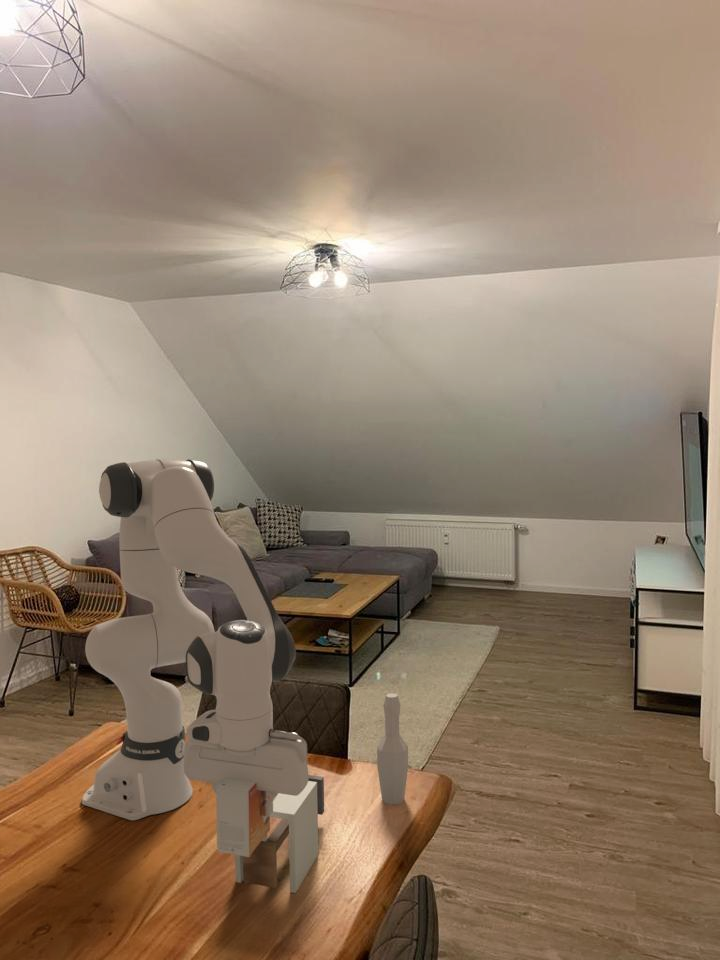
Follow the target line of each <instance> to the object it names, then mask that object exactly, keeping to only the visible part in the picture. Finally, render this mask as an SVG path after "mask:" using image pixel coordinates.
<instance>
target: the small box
mask: <svg viewBox="0 0 720 960" xmlns="http://www.w3.org/2000/svg"><path fill="white" fill-rule="evenodd" d="M215 795H216V796H215V800H216V802H215V803H216V810H215V811H216V849H217V852H218V853H222V854H223V853H225V854H230V855H234V856H235V855H240V856H245V857H250V855H251V854H252V852H253V851H254V850H255V848H256V847H257V846H258V845H259V843H260V842H261V841H262V839H263V838H264V837H265V836H266V834H267V835H268V834H269V833H270V830H271V818H270V817H267V816H262V815H260V812H261V811H260V805H261V804H262V803H263V801H264V800H268V799H269V798H270V797H267V796H266V791H262V790H257V785H256V783H255V782H251V781H245V780H237V779H224V780H223V781H222V782H221V783H220V784H218V785H217V786H216V793H215Z"/></svg>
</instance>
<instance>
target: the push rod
mask: <svg viewBox="0 0 720 960" xmlns="http://www.w3.org/2000/svg"><path fill="white" fill-rule="evenodd" d="M324 778H325V777H324V776H319V775H311V774H308V781H313V782H317V806H318V815H323V814H324V812H325V786H324V785H325V783H324V782H325V781H324V780H325V779H324ZM287 837H289V820H288V819H282V818H281V820H280V821H279V823H278V824H277V825H276V827H274V829H273V831H272V832H271V833H270V835H269V836H268V837H267V840H266V841H261V842H260V843H259V845H258V846H257V847H256V848H255V850H254V851H253V852H252V854H251V855H250V857H245V856H243V881H242V882H243V883H246V884H252V885H255V886H256V885H257V886H263V887H267V888H268V887H269V888H273V889H275V888H276V887H277V885H278V871H277V870H278V866H277V865H278V863H277V859H278V858H277V857H278V856H277V852H278V850H279V849H280V848H281V846H282V844H283V843H284V842H285V840H286V839H287Z"/></svg>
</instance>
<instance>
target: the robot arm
mask: <svg viewBox="0 0 720 960" xmlns="http://www.w3.org/2000/svg"><path fill="white" fill-rule="evenodd" d="M214 481H215V480H214V476H213V472H212V471H211V469H210V467H209V466H208V464H207V463H205V462H203V461H199V460H196V459H186V460H182V459H171V458H167V459H166V458H158V459H155V460H152V459H151V460H141V461H135V462H133V461H132V462H129V463H127V462H117V463H114V464H111V465H108V466H107V467H106V468H105V469H104V471H102V472H101V476H100V481H99V485H98V486H99V487H98V495H99V498H100V499H99V500H100V502H101V504H102V507H103V509H104V510H105V511H106V512H107V513H108V514H109V515H110V516H113V517H118V518H120V522H119V532H118V533H119V539H118V541H119V542H118V543H119V565H120V582H121V587H122V588H123V589H124V591H125V592H127V593H128V594H130V595H131V596H134V597H136V598H138V599H142V600H145V601H148V602H150V603H151V604H152V607H153V608H152V609H153V612H151V613H148V614H140V615H133V616H132V615H131V616H125V617H124V616H123V617H118V618H114V619H111V620H108V621H104V622H102V623H99V624H96V625H94V626H93V628H91V630H90V632H89V633H88V636H87V638H86V641H85V648H84V651H85V657H86V659H87V660H86V661H87V662H88V664H89V665H90V667H91V668H92V669H94V671H96V672H97V673H99V674H101V675H103V676H104V677H106V678H108V679H109V680H110V681H111V682H113V683H114V685H115V686H116V687H117V688H118V690H119V692H120V693H121V696H122V698H123V702H124V707H125V714H126V724H127V725H126V726H127V730H126V731H125V732H123V733H122V735H121V736H120V737H118V738H116V740H115V741H117V742H116V743H115V745H117V746H118V745H119V744H121V743H122V745H121V747H120V749H119V750H117V751H116V752H115V753H114V754H112V755H111V756H109V758H108V759H107V760H105V761H104V762H103V763H102V764H101V765H100V766H99V767H98V769H97V771H96V773H95V776H94V779H93V780H94V781H93V784H92V785H91V786H90V787H89V788H88V789H87V790H86V791H85V793H84V794H83V796H82V799H81V804H82V805H84V806H86V807H90V808H92V809H95V810H99V811H102V812H104V813H107V814H110V815H112V816H113V815H114V816H116V817H120V818H122V819H126V820H129V821H137V820H140V819H143V818H145V817H148V816H152V815H157V814H162V813H163V814H164V813H166V812H170V811H172V810H175V809H177V808H179V807H181V806H182V805H184V804H185V803H186V802H188V801H189V800H190V799H191V797H192V795H193V793H194V792H193V791H194V789H193V787H192V784H191V781H190V780H192V781H199V782H205V783H212V790H213V791H214V794H216V786H217V785H218V784H220V783H221V782H222V781H223V780H224V779H237V780H245V781H251V782H255V783H256V785H257V790H262V791H266V796H267V797H270V798H269V799H268V800H264V801H263V803H262V804H261V805H260V811H261V812H260V815H262V816H267V817H270V815H271V814H272V812H273V801H274V800H275V798H276V797H277V795H278V793H281V794H287V795H294V796H297V795H299V794H300V793H301V792H302V791H303V790H304V788H305V787H306V785H307V783H308V775H309V769H308V761H307V757H308V744H307V741H306V740H305V739H304V738H303V737H302V736H300V735H299V733H297V732H293V731H291V732H288V731H287V732H286V731H283V730H279V729H274V720H273V718H274V716H273V715H274V713H273V710H274V708H273V700H272V698H271V691H270V690H271V686H272V683H273V682H277V681H282V680H283V679H284V678H285V677H286V676H287V675H288V673H289V672H290V671H291V668H292V667H293V664H294V662H295V660H296V657H297V656H296V655H297V649H296V643H295V640H294V637H293V636H292V634H291V632H290V630H289V629H288V627H287V626H286V624H285V623H284V622H283V621H282V619H281V617H280V616H279V614H278V612H277V611H276V609H275V605H274V604H273V602H272V599H271V598H270V596H269V594H268V592H267V590H266V587H265V586H264V584H263V582H262V579H261V578H260V576H259V573H258V571H257V570H256V567H255V566H254V564H253V562H252V560H251V558H250V556H249V554H248V553H247V551H246V550H245V548H244V547H243V545H242V544H240V543H239V542H236V541H234V540H233V539H231V538H230V537H229V536H228V535H227V534H226V532H225V531H224V530H223V529H222V527H221V525H220V523H219V522H218V520H217V517H216V515H215V511H214V508H213V505H212V503H211V501H212V500H213V497H214V493H215V482H214ZM178 570H181V571H183V572H185V573H190V574H195V575H200V576H205V577H208V578H213V579H214V580H215V579H216V580H217V581H220V582H223V583H224V584H225V585H227V586H229V588H230V589H232V591H233V593H234V595H236V598H237V600H238V601H237V602H239V605H240V607H241V608H242V611H243V613H244V615H245V617H246V619H236V620H231V621H228V622H226V623H223V624H221V625H220V626H219V627H218V629H217V631H215V628H214V624H213V622H212V620H211V618H210V617H209V616H208V614H206V613H205V612H204V611H203V610H202V609H199V608H198V607H196V606H195V605H194V604H193V603H192V602H191V601H190V600H189V599H188V598H187V596H186V594H185V592H184V591H183V590H182V586H181V583H180V580H179V576H178V575H179V573H178ZM184 663H185V672H186V679H187V682H188V683H189V684H190V685H191V686H192V687H194V688H195V689H197V690H198V691H200V692H201V693H203V694H206V695H207V696H211V695H213V696H215V698H216V706H215V709H210V710H207V711H206V712H204V713H203V714H201V715H199V716H198V717H197V718H196V719H194V720H193V721H192V722H191V723H190V724H189V725H188V726H187V728H186V730H185V726H184V725H183V706H182V705H183V704H182V703H183V701H182V699H183V698H182V695H181V694H182V693H181V692H180V690H179V689H178V687H176V686H175V685H174V684H173V683H170V682H168V681H166V680H162V679H159V678H156V677H153V676H152V675H151V671H152V669H155V668H160V667H165V666H171V665H177V664H184ZM185 731H186V732H185ZM185 733H186V734H185ZM186 736H187V738H188V739H187V741H186Z"/></svg>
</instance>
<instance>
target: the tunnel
mask: <svg viewBox="0 0 720 960" xmlns="http://www.w3.org/2000/svg"><path fill="white" fill-rule="evenodd" d="M318 815H319V814H318V806H317V782H313V781H308V783H307V785H306V787H305V788H304V790H303V791H302V792H301V793H300V794H299V795H297V796H294V795H287V794H281V793H278V795H277V797H276V798H275V800H274V801H273V812H272V814H271V815H270V817H271V818H277V819H281V820H282V819H288V820H289V834H288V845H289V846H288V851H289V852H288V853H289V856H288V857H289V893H293V894H296V893H298V892H297V891H298V890H299V889H300V887H301V885H302V884H303V881H304V880H305V879H306V877H307V875H308V873H309V871H310V870H311V868H312V866H313V865H314V863H315V861H316V859H317V858H318V856H319V816H318ZM267 839H268V833H267V834H266V836H265V837H264V838H263V839H262V841H266V840H267ZM234 871H235V872H234V873H235V874H234V876H235V879H234V880H235V881H234V882H235V883H238V884H239V883H240V884H241V883H242V882H243V856H240V855H234Z"/></svg>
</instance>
